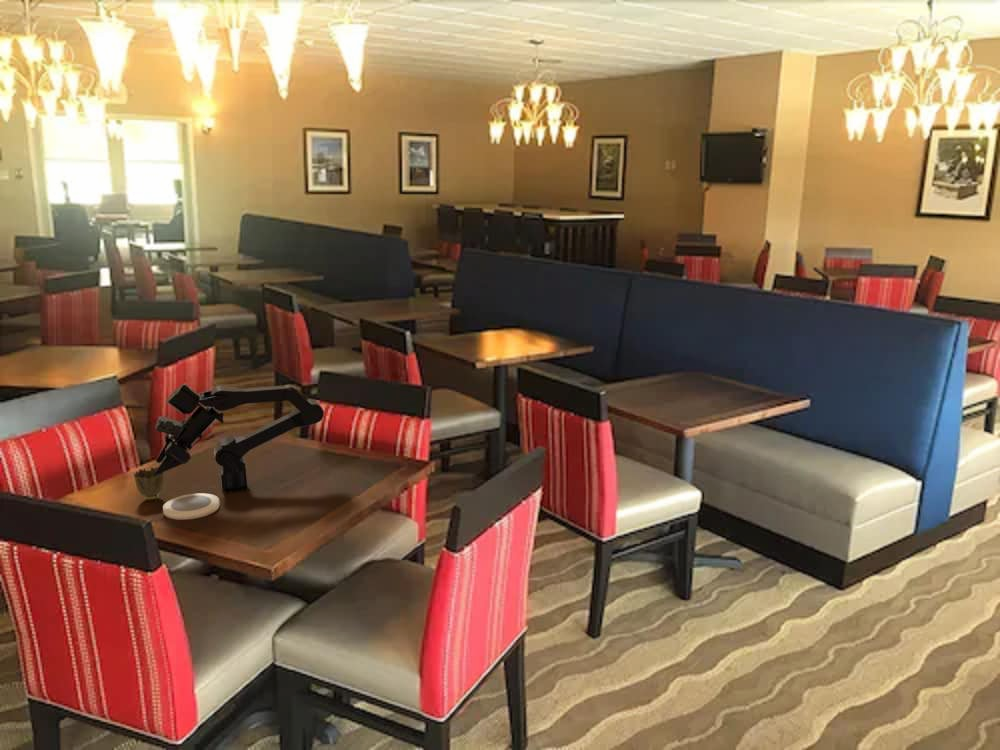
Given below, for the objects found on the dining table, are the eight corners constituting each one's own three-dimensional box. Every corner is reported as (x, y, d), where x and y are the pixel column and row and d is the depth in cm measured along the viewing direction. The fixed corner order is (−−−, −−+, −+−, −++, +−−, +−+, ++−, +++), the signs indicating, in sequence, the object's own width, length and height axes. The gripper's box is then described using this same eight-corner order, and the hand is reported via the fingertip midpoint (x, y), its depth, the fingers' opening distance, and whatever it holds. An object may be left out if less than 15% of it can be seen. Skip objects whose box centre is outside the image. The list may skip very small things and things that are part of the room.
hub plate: (218, 495, 223) (217, 489, 223) (221, 514, 211) (220, 508, 210) (163, 502, 218) (162, 497, 218) (163, 523, 206) (162, 517, 205)
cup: (166, 492, 225) (163, 465, 223) (166, 502, 219) (163, 474, 217) (137, 496, 223) (134, 469, 221) (136, 506, 216) (133, 478, 214)
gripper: (172, 397, 226) (133, 439, 224) (172, 415, 209) (130, 461, 207) (204, 421, 230) (166, 462, 229) (207, 441, 214) (166, 485, 212)
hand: (157, 467), depth 219 cm, fingers open, 9 cm apart
